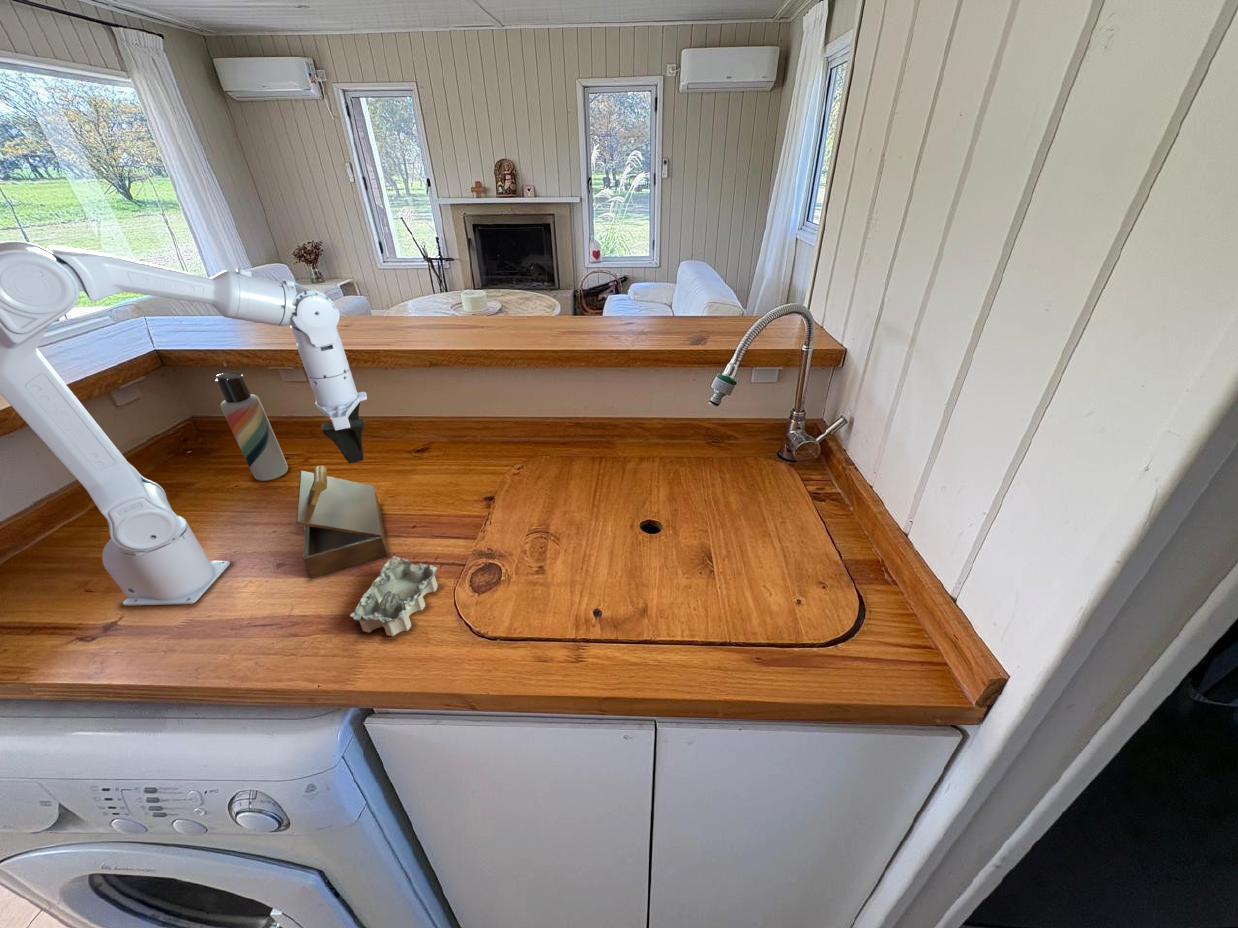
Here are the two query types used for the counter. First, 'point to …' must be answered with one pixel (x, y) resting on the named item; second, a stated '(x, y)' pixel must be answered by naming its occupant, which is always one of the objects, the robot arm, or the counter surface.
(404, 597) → the egg carton
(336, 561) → the compartment
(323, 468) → the lid
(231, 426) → the lotion bottle
